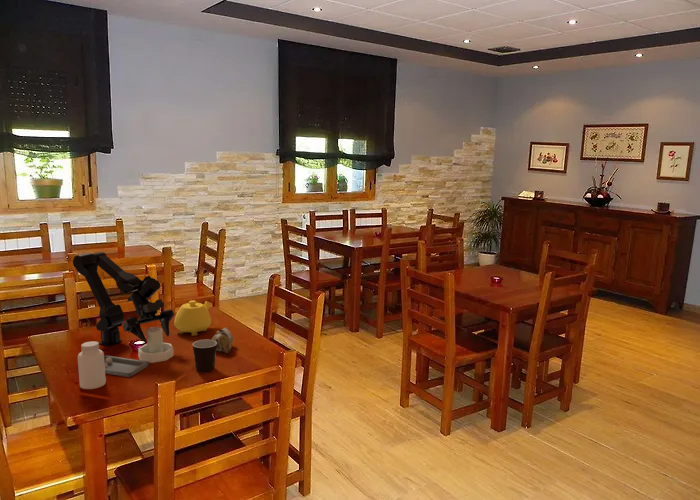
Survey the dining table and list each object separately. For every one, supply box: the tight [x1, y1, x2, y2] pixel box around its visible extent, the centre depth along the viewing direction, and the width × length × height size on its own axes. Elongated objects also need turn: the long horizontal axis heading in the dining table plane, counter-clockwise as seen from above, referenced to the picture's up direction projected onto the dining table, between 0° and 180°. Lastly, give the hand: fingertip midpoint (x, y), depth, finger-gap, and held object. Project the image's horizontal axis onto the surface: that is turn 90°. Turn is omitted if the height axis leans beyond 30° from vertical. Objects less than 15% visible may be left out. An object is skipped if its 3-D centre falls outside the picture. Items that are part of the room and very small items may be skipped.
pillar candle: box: [146, 326, 164, 354], centre depth 205 cm, size 6×6×12 cm
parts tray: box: [104, 354, 150, 378], centre depth 194 cm, size 19×11×3 cm, turn 75°
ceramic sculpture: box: [211, 326, 234, 354], centre depth 216 cm, size 11×9×15 cm
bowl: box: [137, 342, 175, 364], centre depth 206 cm, size 12×12×4 cm
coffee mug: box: [191, 338, 217, 374], centre depth 198 cm, size 12×9×10 cm
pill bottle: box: [77, 340, 107, 390], centre depth 180 cm, size 8×8×15 cm
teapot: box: [173, 299, 212, 337], centre depth 238 cm, size 20×16×14 cm
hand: (157, 338), depth 204 cm, fingers open, 9 cm apart
